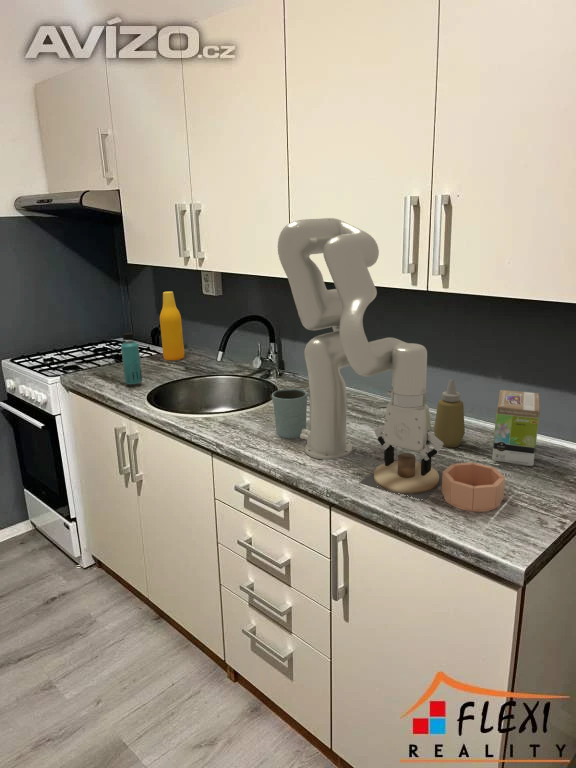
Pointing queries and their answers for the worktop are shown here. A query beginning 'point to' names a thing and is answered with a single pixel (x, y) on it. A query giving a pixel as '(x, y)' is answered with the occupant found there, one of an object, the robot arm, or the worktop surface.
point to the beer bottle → (171, 329)
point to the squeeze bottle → (450, 418)
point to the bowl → (473, 486)
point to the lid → (405, 476)
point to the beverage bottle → (131, 360)
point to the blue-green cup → (290, 412)
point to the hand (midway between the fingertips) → (406, 468)
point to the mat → (372, 483)
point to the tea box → (516, 427)
